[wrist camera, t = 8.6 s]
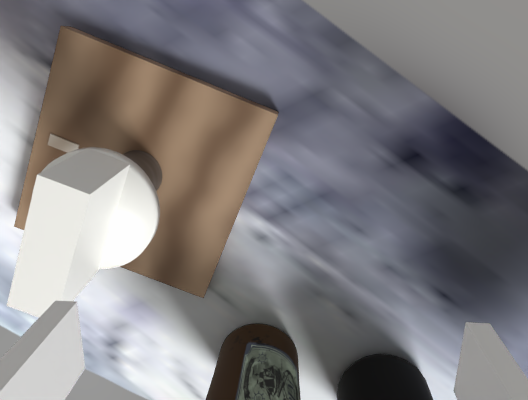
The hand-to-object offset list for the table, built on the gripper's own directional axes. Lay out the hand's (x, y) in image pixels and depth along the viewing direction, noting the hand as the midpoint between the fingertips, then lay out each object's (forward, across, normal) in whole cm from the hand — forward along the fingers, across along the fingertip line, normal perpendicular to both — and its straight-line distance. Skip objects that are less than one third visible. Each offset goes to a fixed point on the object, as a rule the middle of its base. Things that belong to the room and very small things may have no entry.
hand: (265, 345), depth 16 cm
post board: (+34, -15, -3) cm, 38 cm away
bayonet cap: (+22, -15, -3) cm, 27 cm away
